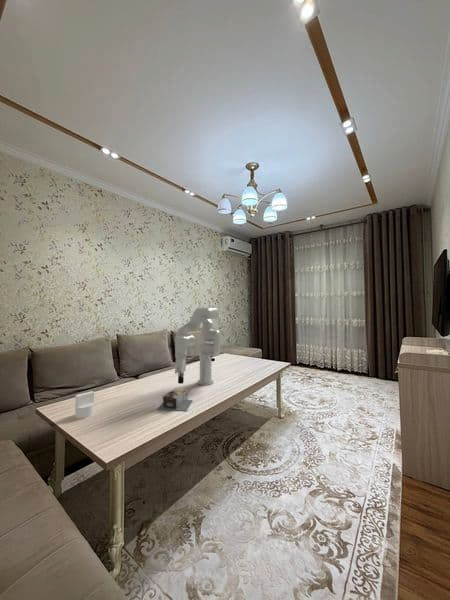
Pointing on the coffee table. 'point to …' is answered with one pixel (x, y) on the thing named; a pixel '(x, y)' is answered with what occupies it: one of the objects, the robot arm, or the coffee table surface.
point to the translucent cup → (84, 405)
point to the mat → (182, 407)
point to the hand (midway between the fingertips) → (180, 383)
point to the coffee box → (175, 398)
